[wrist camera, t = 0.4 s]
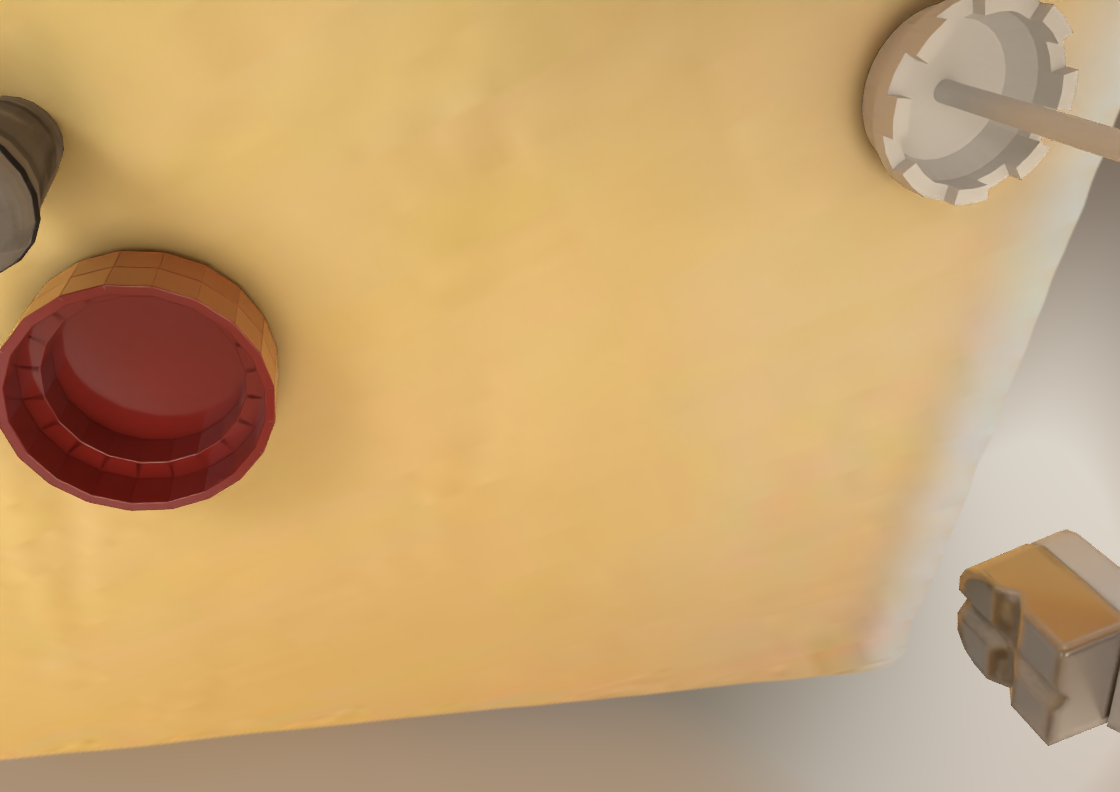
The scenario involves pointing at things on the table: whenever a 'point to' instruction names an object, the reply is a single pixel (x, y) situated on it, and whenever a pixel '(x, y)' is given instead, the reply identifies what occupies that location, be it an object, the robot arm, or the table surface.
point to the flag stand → (975, 97)
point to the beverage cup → (24, 173)
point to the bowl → (139, 382)
